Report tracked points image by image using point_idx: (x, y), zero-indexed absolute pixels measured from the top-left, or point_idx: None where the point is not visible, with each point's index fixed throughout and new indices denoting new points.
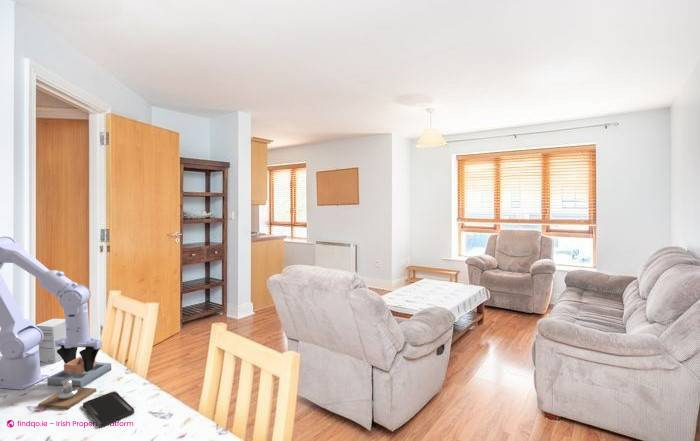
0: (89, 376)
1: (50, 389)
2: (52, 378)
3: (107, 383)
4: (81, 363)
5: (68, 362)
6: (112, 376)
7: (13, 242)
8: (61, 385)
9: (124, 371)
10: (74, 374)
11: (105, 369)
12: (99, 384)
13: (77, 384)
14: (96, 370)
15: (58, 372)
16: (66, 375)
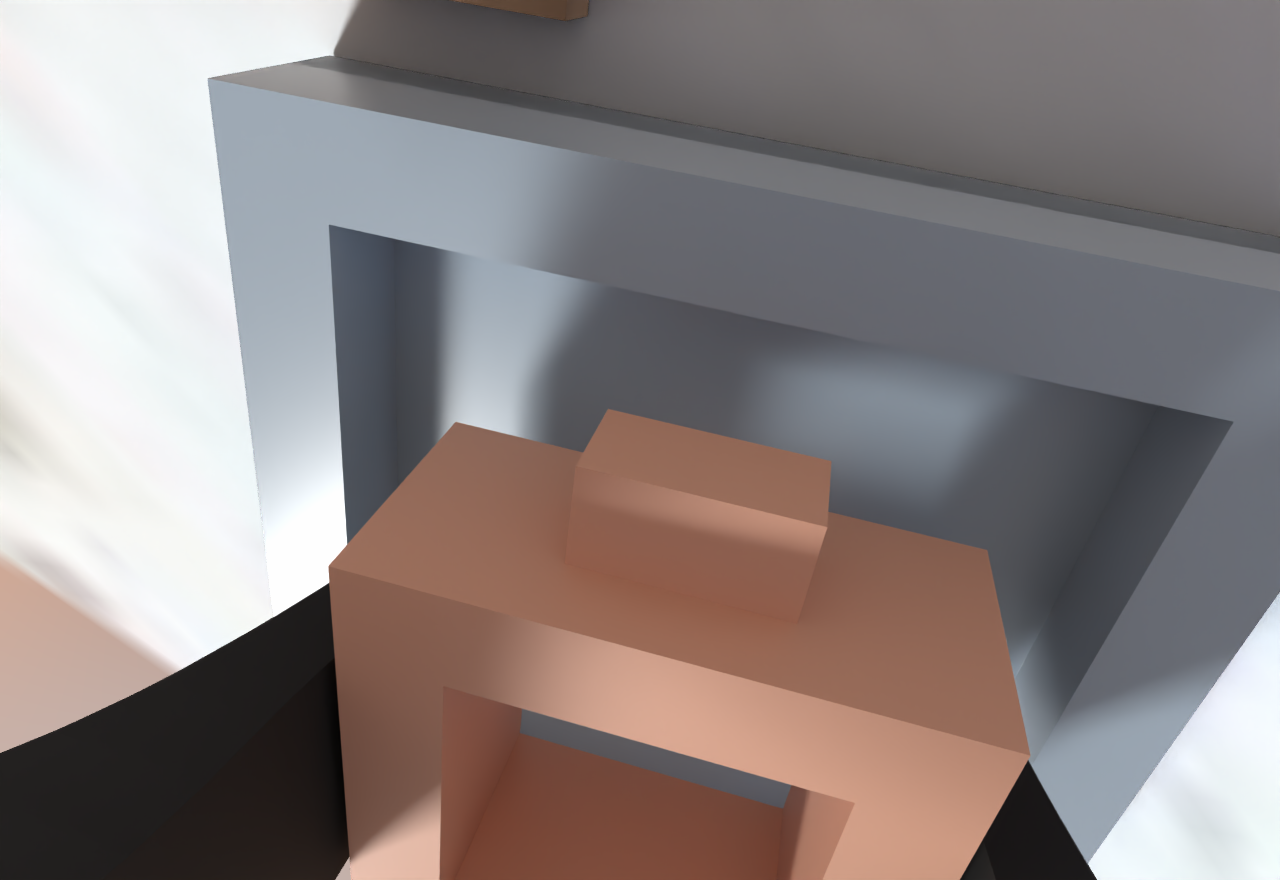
0: (257, 353)
1: (1117, 7)
2: (1236, 292)
3: (5, 245)
4: (415, 706)
5: (944, 866)
6: (160, 493)
7: None
8: (877, 166)
9: (130, 620)
10: None
11: None
12: (108, 215)
13: (371, 82)
14: (309, 582)
15: (1239, 645)
16: (1026, 602)
